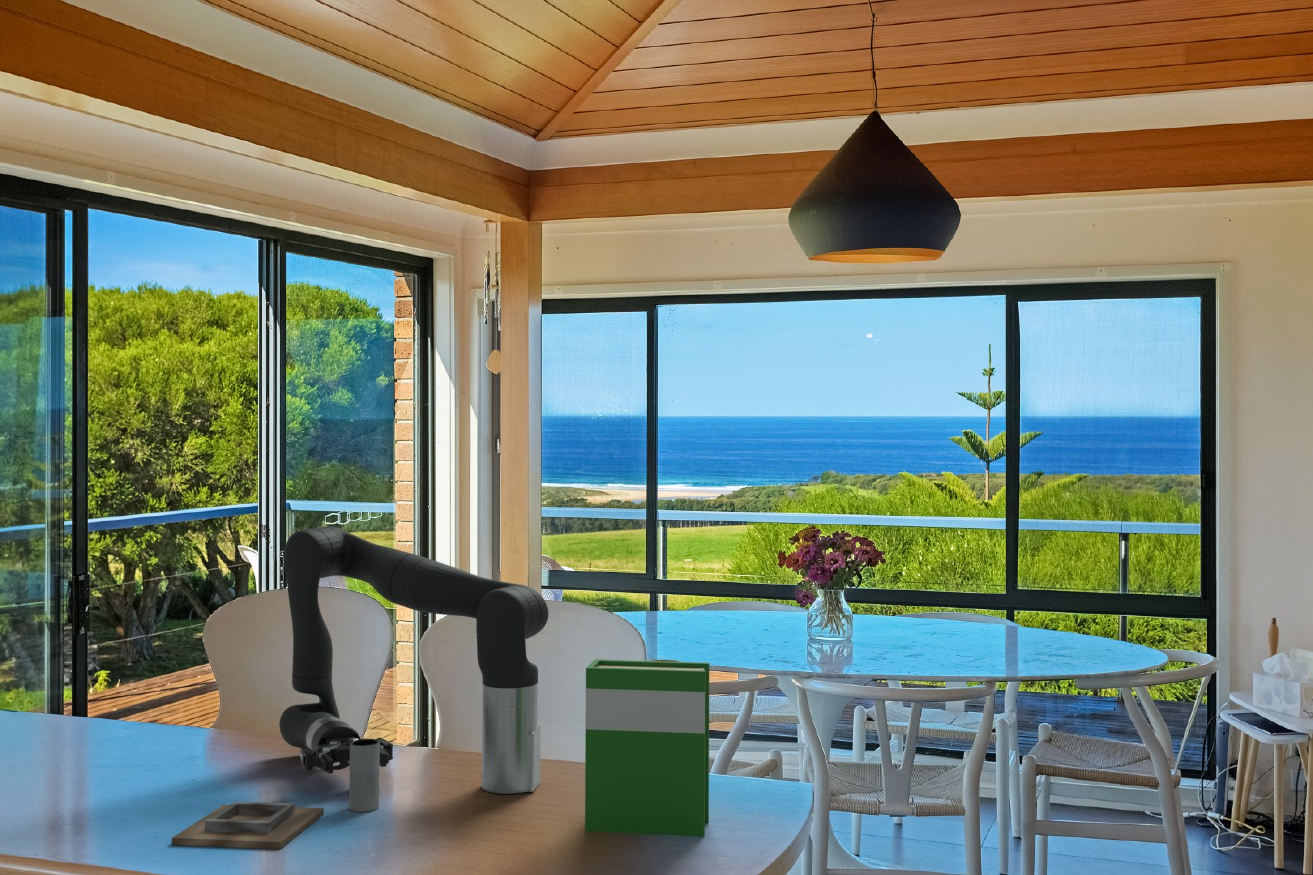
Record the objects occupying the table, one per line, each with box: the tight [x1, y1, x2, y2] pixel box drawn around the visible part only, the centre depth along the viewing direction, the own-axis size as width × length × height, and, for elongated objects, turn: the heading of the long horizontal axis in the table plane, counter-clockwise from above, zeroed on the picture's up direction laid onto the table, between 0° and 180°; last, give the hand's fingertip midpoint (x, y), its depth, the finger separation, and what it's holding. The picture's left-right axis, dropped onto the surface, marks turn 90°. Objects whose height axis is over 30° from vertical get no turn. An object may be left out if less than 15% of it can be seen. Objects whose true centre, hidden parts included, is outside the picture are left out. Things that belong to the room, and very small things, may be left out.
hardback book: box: [584, 659, 710, 838], centre depth 177 cm, size 18×7×24 cm, turn 83°
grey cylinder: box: [348, 738, 381, 813], centre depth 185 cm, size 4×4×10 cm
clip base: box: [171, 801, 325, 850], centre depth 175 cm, size 16×16×2 cm
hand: (358, 763), depth 189 cm, fingers open, 8 cm apart
